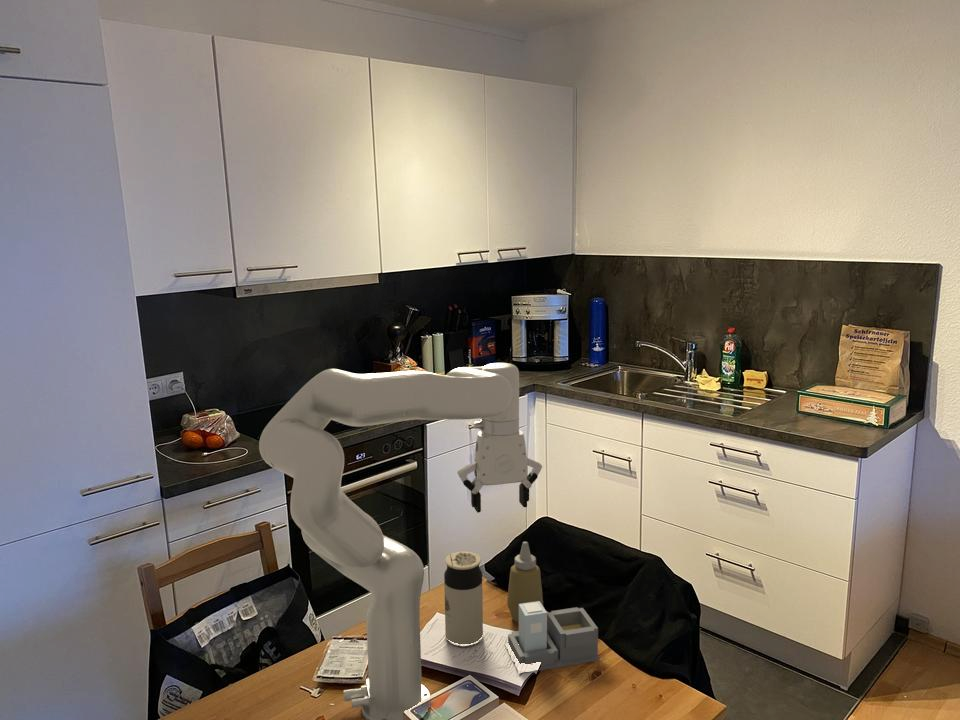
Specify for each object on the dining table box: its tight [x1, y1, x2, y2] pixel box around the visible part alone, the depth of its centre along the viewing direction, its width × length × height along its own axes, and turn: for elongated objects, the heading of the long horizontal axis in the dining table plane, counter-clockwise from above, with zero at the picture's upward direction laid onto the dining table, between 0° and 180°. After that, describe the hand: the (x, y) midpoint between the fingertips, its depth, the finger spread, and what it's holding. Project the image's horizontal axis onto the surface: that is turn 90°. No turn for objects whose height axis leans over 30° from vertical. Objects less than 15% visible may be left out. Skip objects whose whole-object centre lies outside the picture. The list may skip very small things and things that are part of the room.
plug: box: [518, 601, 548, 653], centre depth 144 cm, size 4×5×10 cm
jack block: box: [507, 606, 600, 672], centre depth 145 cm, size 17×10×6 cm, turn 104°
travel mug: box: [443, 550, 484, 644], centre depth 150 cm, size 8×8×18 cm
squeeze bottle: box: [506, 541, 544, 624], centre depth 157 cm, size 8×8×18 cm
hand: (500, 507), depth 144 cm, fingers open, 9 cm apart
